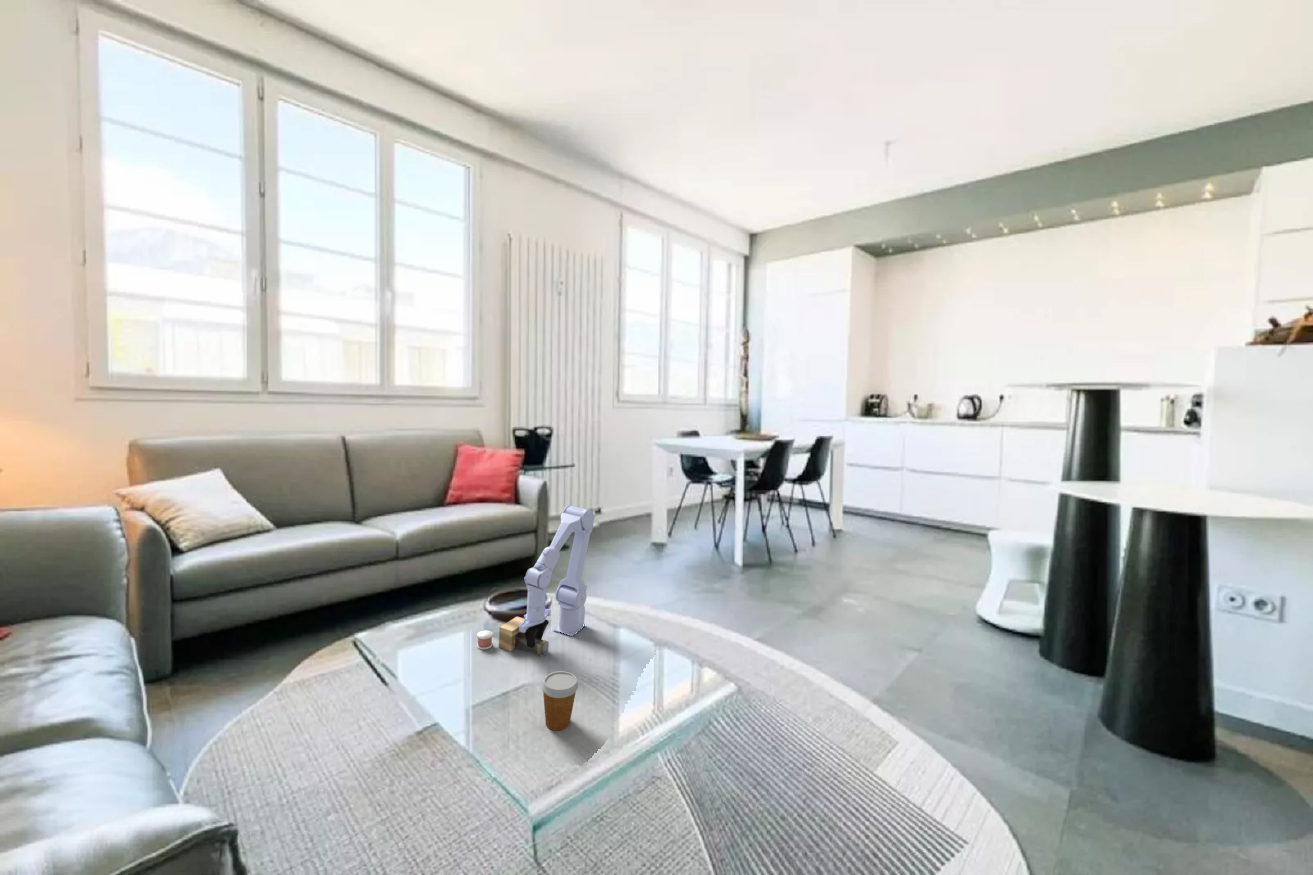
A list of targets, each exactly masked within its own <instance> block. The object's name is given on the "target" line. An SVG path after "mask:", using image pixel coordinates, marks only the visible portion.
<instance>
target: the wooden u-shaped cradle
mask: <svg viewBox="0 0 1313 875" xmlns="http://www.w3.org/2000/svg"><path fill="white" fill-rule="evenodd" d="M524 619H525V618H524V617H520V616H515V617H514V618H512V619H510V620H509V621H508V622H506V623H504V624H502V625H501V626H499V632H498V634H499V635H498V636H499V637H498V648H499V649H503V650H506V651H508V652H513V651H514V650H515V648H516V647H515V635H516V634H517V633H522V634H524V633H523V632H519V626H520V625H521V624H522V622H523V621H524Z"/></svg>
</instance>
